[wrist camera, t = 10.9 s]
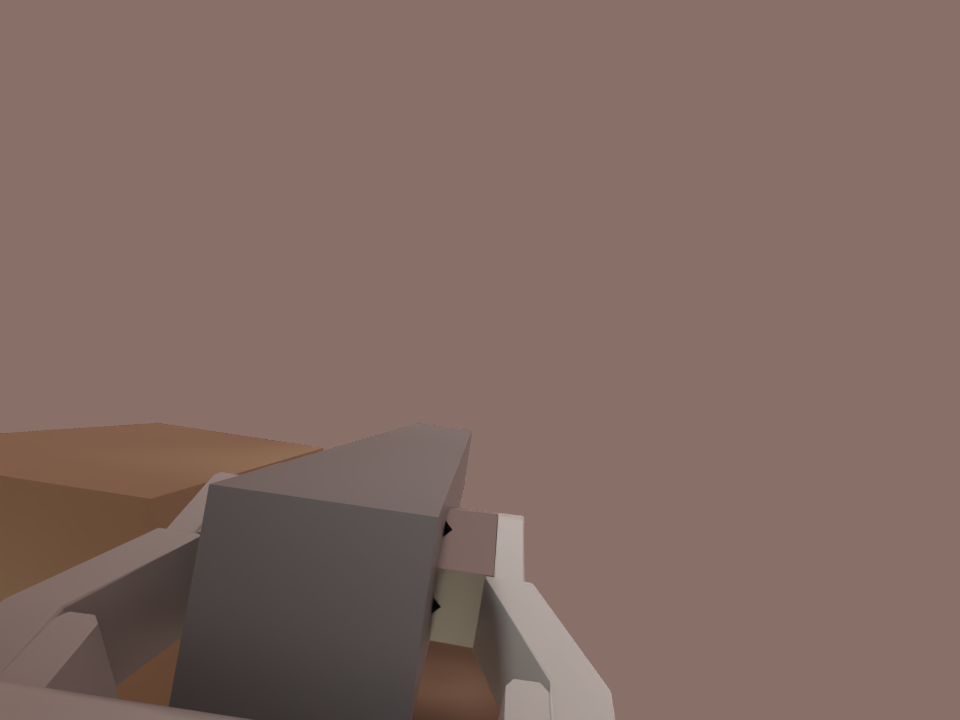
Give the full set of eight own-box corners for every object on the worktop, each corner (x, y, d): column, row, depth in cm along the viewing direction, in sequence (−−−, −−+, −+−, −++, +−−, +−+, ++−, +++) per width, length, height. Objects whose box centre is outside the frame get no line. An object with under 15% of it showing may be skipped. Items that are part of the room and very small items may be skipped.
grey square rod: (402, 762, 6) (438, 517, 7) (164, 725, 6) (209, 483, 7) (464, 485, 28) (472, 430, 29) (410, 477, 28) (418, 422, 29)
